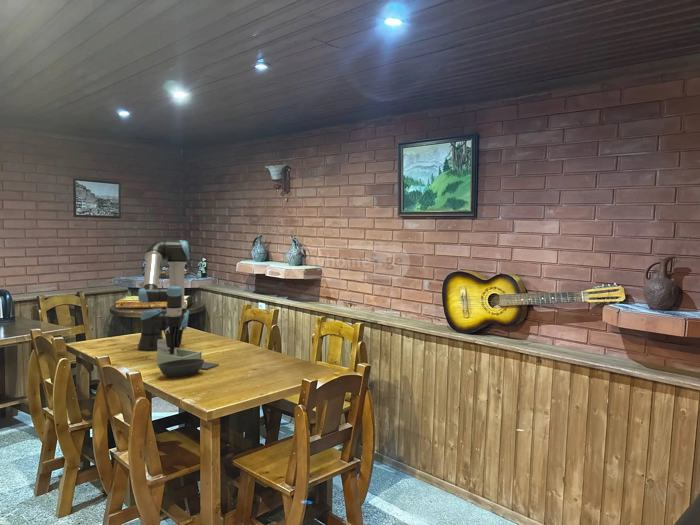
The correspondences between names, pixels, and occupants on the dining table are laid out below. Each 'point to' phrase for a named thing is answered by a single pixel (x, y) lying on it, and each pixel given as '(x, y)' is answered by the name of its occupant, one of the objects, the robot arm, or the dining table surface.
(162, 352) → the ink box
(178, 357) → the grey open box
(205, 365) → the stand mat
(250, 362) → the dining table surface
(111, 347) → the dining table surface
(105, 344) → the dining table surface
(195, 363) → the bowl
